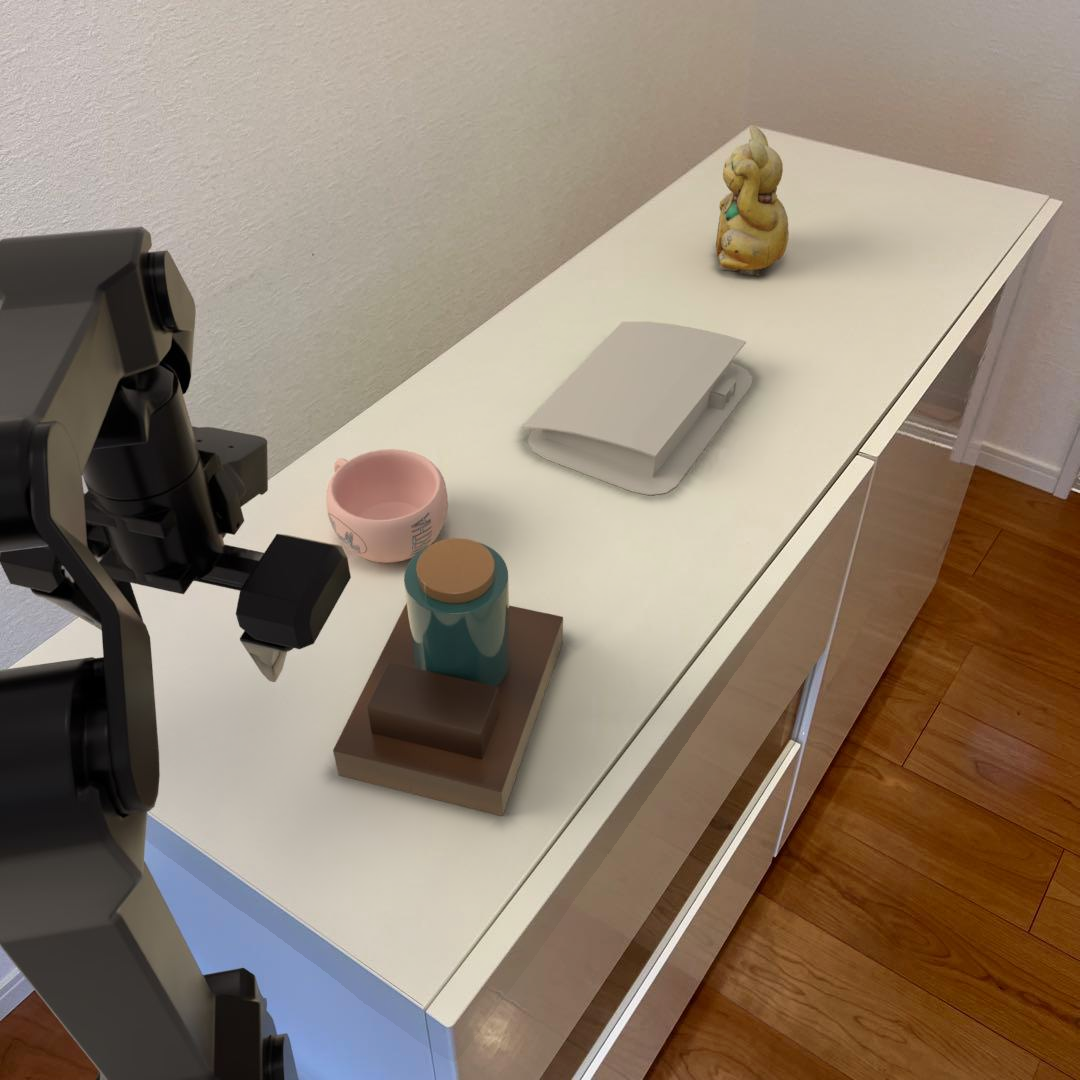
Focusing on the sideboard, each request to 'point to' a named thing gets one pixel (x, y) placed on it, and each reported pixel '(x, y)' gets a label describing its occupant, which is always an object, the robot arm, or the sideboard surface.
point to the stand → (450, 719)
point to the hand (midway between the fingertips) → (206, 659)
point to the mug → (387, 504)
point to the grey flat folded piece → (642, 405)
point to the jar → (459, 610)
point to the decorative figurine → (752, 209)
